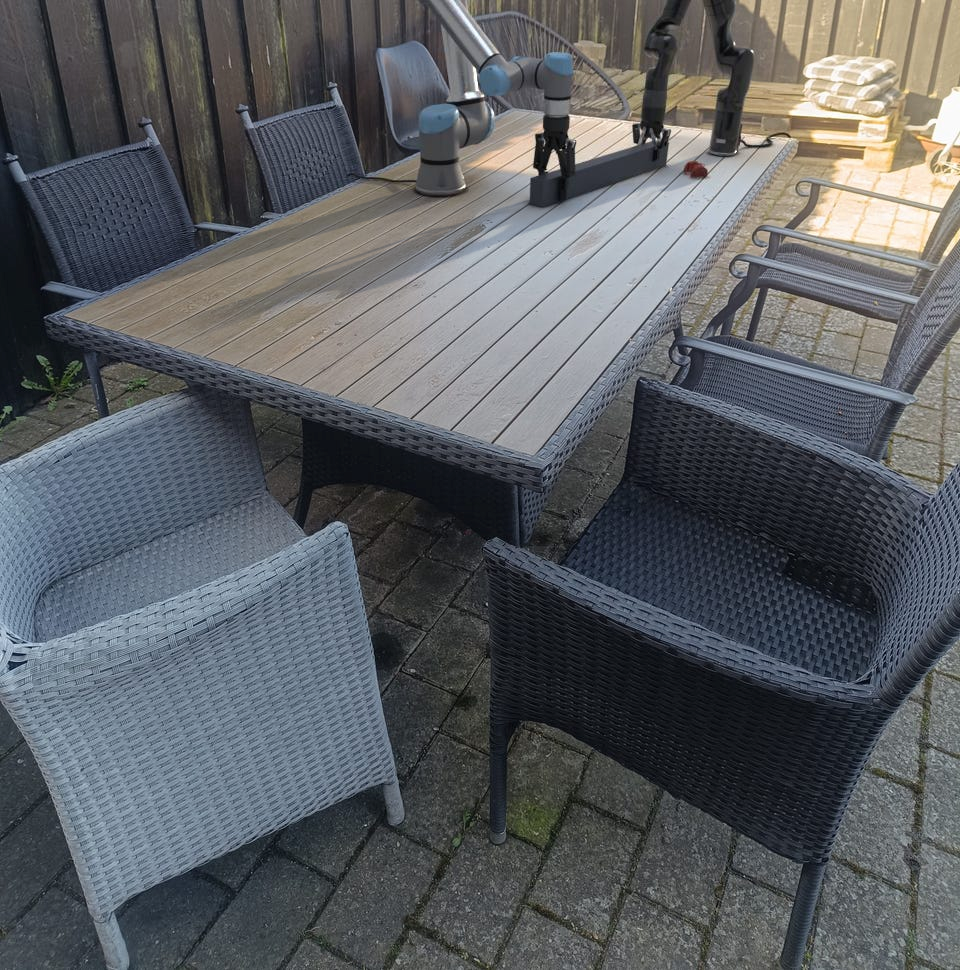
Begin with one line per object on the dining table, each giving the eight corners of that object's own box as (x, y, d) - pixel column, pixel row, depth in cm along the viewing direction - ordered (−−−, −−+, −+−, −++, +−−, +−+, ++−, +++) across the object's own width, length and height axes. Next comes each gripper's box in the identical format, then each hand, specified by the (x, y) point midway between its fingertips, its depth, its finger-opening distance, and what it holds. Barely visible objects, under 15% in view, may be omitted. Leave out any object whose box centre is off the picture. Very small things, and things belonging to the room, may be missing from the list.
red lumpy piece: (699, 157, 272) (710, 164, 266) (697, 170, 275) (708, 177, 269) (683, 159, 271) (694, 165, 265) (681, 172, 274) (692, 179, 268)
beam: (542, 207, 244) (543, 181, 240) (529, 203, 247) (530, 177, 243) (666, 165, 281) (669, 142, 276) (653, 162, 283) (656, 139, 279)
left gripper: (592, 118, 233) (586, 201, 246) (539, 107, 244) (536, 187, 258) (575, 122, 229) (570, 207, 242) (521, 111, 240) (519, 193, 253)
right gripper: (680, 105, 264) (672, 161, 274) (642, 99, 273) (636, 153, 282) (666, 109, 260) (659, 166, 270) (628, 102, 268) (623, 157, 278)
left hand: (552, 197), depth 250 cm, fingers open, 7 cm apart
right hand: (647, 159), depth 276 cm, fingers closed on beam, 5 cm apart
